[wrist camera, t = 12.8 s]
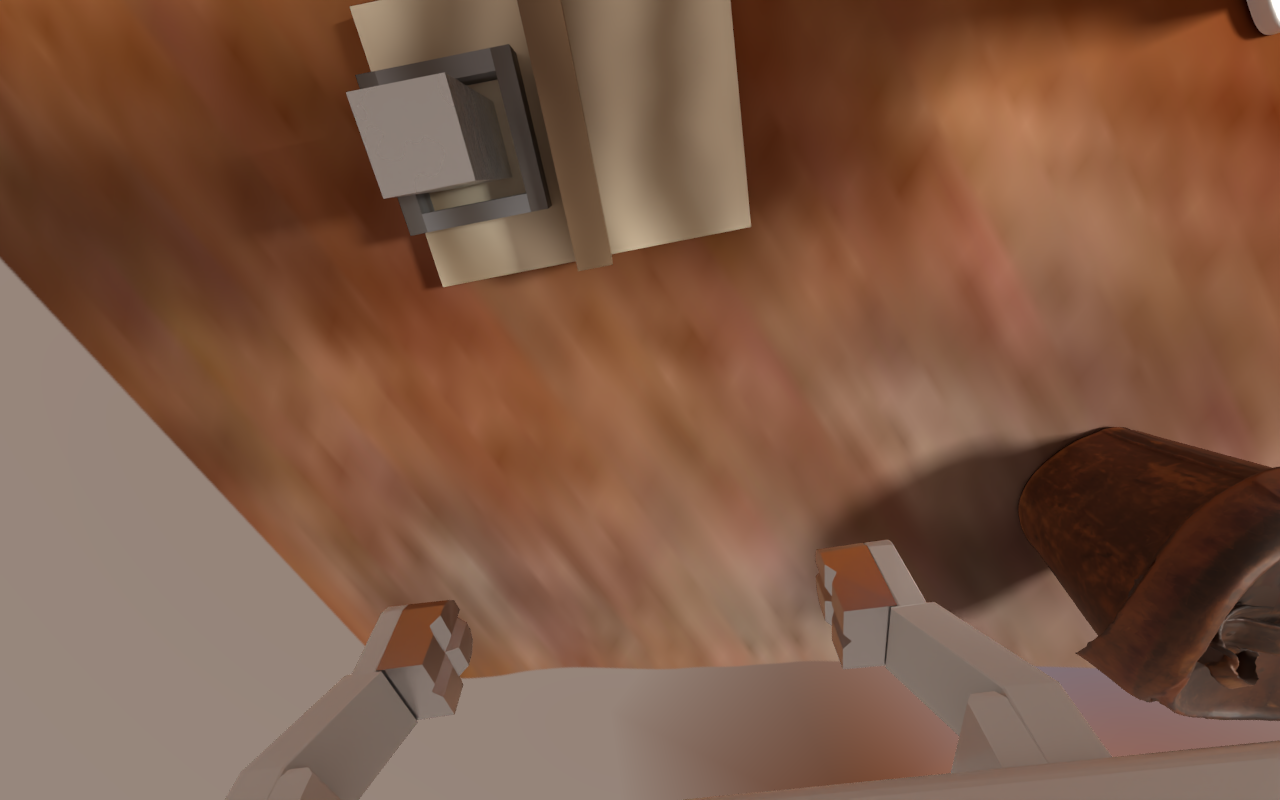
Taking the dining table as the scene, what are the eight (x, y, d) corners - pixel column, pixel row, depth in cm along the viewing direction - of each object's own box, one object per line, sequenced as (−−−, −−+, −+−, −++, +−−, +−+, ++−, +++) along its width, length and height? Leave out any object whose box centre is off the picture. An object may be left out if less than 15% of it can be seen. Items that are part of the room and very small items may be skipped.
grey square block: (493, 101, 30) (444, 72, 21) (512, 177, 32) (475, 180, 22) (424, 115, 30) (345, 92, 21) (447, 190, 32) (383, 198, 23)
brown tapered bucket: (936, 493, 45) (1129, 681, 28) (1169, 345, 40) (1554, 465, 24) (1018, 610, 51) (1216, 821, 34) (1227, 493, 47) (1566, 668, 30)
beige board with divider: (718, -59, 29) (742, -107, 24) (745, 224, 35) (769, 233, 30) (361, 14, 29) (310, -19, 24) (449, 282, 35) (423, 301, 30)
